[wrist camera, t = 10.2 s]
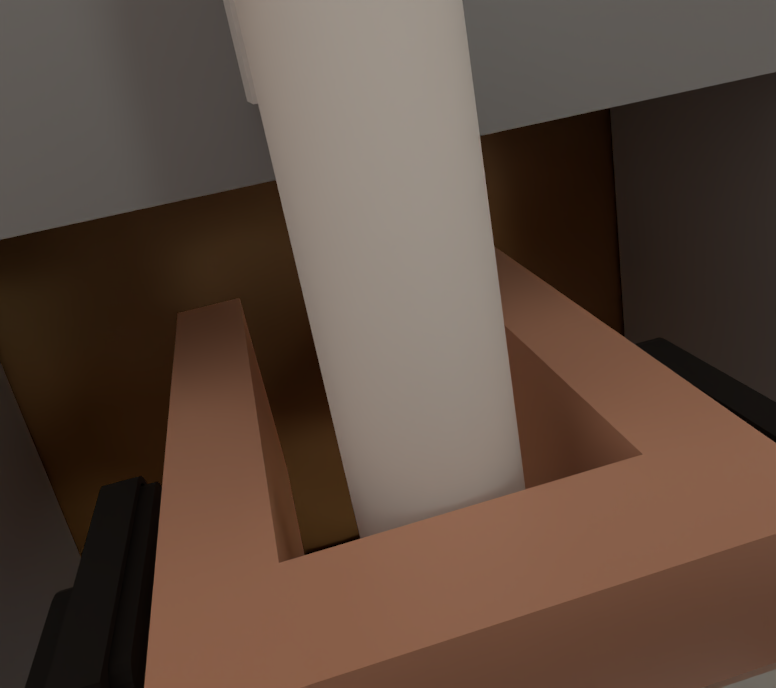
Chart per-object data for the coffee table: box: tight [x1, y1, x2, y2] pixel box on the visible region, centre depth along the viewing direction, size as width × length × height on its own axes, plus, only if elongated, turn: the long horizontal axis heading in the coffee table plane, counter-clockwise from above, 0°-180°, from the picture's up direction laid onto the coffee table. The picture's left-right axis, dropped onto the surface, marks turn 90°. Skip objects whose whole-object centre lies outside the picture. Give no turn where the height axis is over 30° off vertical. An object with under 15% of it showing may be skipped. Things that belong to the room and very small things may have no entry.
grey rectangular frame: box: [0, 0, 776, 688], centre depth 12 cm, size 22×18×10 cm
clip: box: [144, 246, 776, 688], centre depth 11 cm, size 6×4×10 cm, turn 101°
